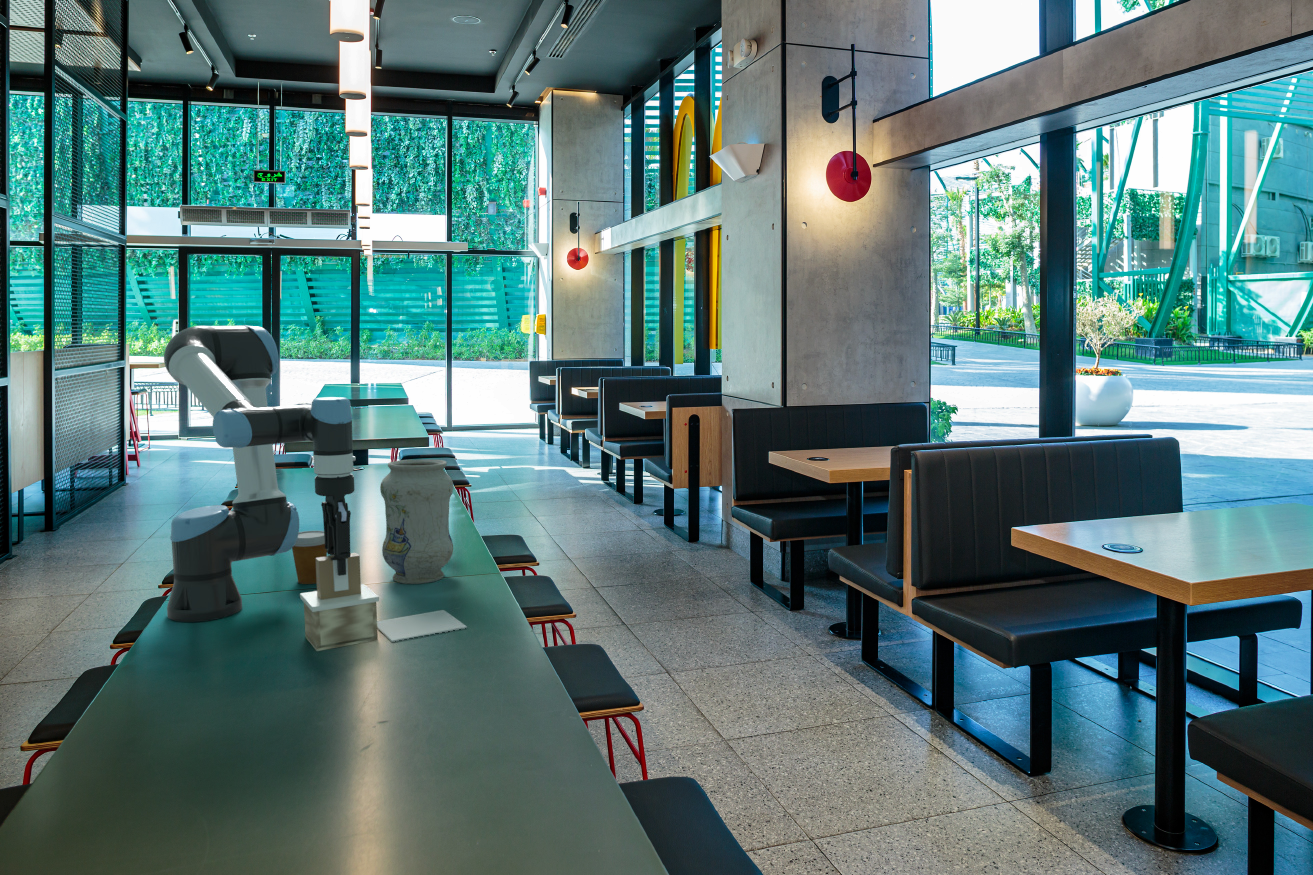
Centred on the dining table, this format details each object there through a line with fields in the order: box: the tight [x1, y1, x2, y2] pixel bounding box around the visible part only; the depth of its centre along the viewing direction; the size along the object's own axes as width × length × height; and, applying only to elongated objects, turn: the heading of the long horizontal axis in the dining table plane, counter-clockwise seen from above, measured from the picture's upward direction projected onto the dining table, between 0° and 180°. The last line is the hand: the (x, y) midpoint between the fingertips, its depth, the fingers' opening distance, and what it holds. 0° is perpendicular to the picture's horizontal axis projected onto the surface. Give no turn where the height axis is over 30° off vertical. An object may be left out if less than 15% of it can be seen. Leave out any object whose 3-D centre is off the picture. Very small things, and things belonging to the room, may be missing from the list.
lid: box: [299, 552, 380, 612], centre depth 187 cm, size 13×11×10 cm
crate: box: [303, 602, 379, 652], centre depth 188 cm, size 12×10×8 cm
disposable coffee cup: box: [291, 530, 328, 585], centre depth 232 cm, size 10×10×12 cm
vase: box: [379, 458, 454, 585], centre depth 234 cm, size 18×18×30 cm
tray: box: [377, 609, 468, 643], centre depth 197 cm, size 16×14×1 cm
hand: (338, 587), depth 188 cm, fingers closed on lid, 3 cm apart
